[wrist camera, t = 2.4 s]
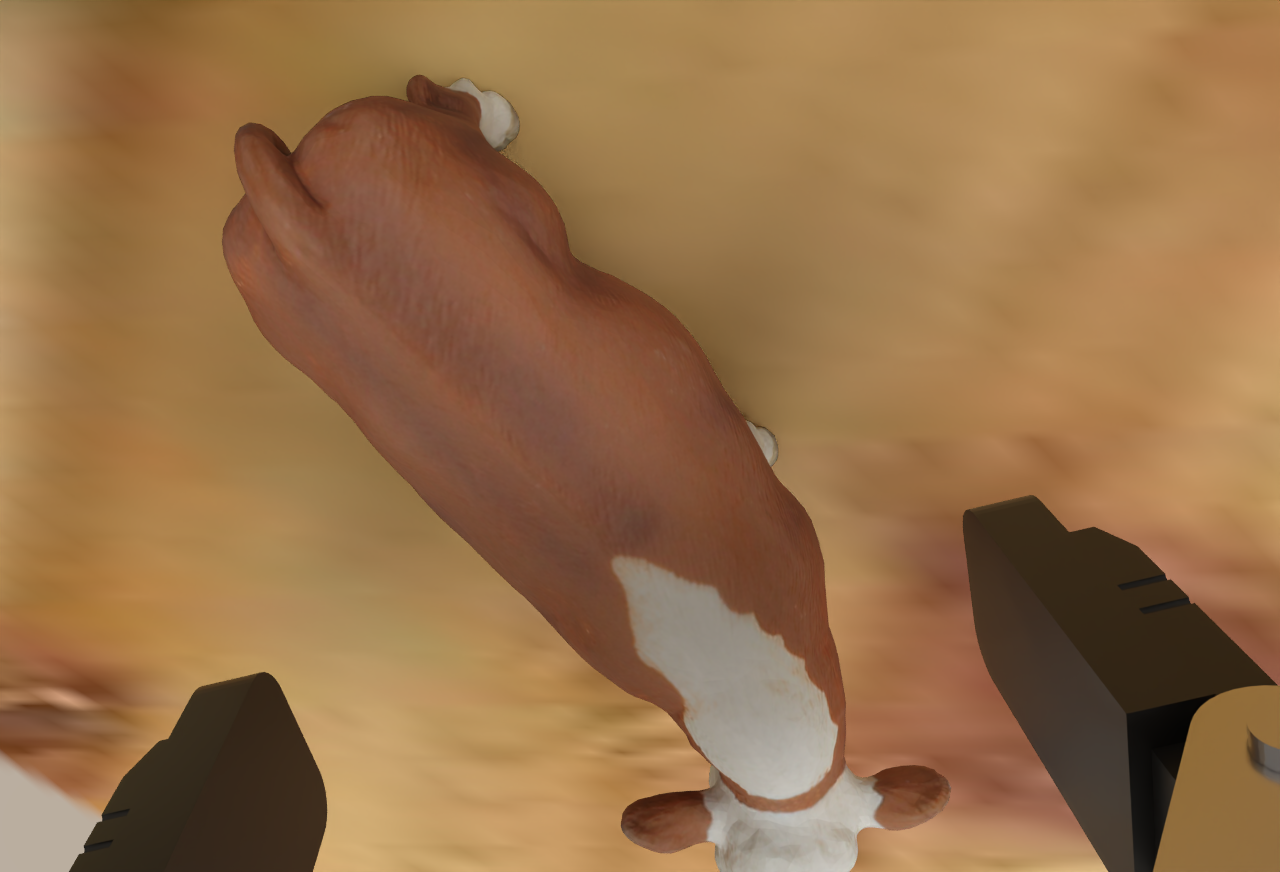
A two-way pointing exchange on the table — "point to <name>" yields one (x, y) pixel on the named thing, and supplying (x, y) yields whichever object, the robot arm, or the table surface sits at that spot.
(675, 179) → the table surface
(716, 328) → the table surface
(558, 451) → the bull figurine
